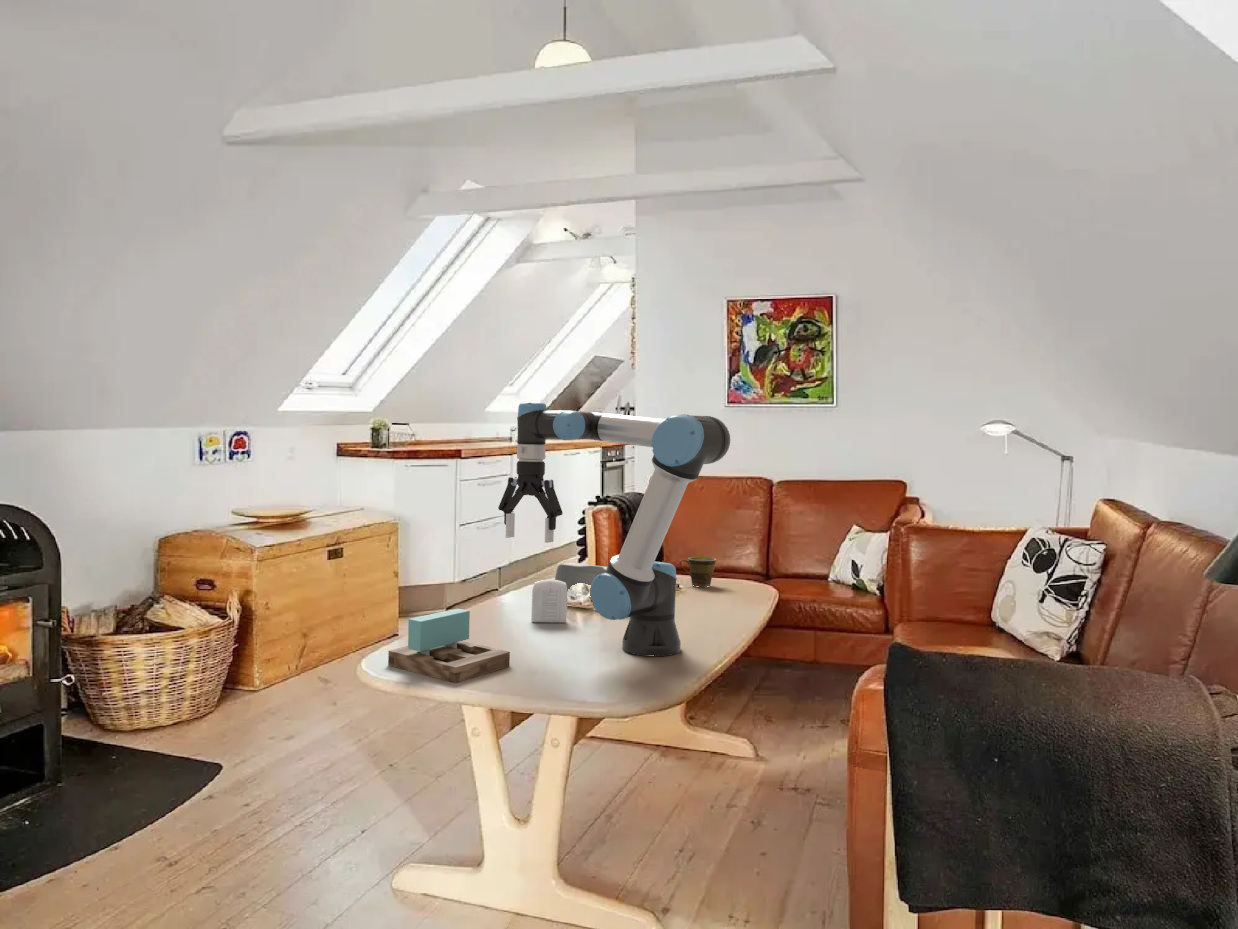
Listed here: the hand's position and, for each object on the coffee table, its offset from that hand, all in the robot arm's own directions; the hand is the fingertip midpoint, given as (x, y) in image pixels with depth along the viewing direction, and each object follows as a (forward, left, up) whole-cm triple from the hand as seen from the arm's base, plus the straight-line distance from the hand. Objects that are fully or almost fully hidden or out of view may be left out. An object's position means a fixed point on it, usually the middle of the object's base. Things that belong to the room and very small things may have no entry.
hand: (529, 539), depth 243 cm
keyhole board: (-4, +33, -27) cm, 42 cm away
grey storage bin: (+13, -48, -27) cm, 57 cm away
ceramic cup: (+5, -100, -27) cm, 104 cm away
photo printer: (+8, -19, -27) cm, 34 cm away
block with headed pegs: (0, +33, -27) cm, 42 cm away
